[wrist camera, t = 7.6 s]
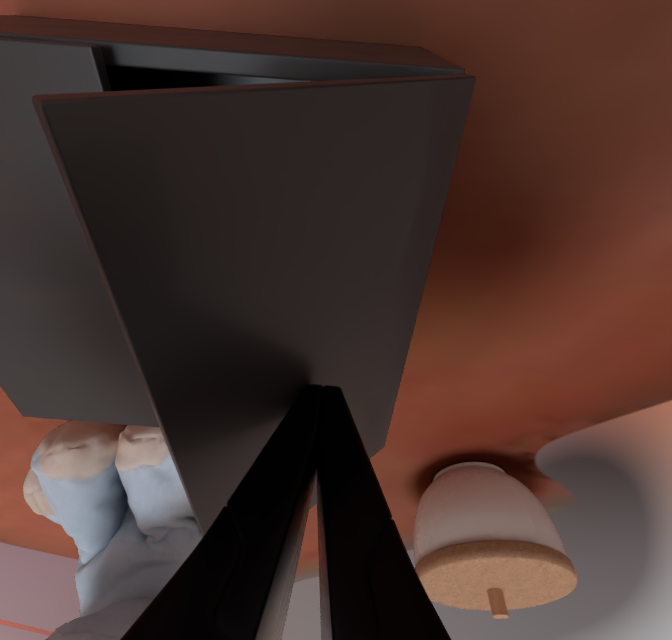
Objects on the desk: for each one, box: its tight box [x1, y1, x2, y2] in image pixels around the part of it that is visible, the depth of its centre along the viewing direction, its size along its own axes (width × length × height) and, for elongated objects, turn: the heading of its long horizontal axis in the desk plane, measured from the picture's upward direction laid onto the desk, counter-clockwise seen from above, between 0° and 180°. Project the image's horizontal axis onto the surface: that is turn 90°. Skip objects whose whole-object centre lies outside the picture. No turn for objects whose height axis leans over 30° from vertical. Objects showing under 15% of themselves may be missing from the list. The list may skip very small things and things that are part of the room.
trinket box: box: [413, 462, 578, 619], centre depth 28 cm, size 11×11×9 cm
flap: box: [32, 74, 476, 537], centre depth 9 cm, size 7×13×1 cm
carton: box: [0, 15, 465, 428], centre depth 15 cm, size 15×13×8 cm
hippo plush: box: [23, 420, 202, 640], centre depth 27 cm, size 18×23×18 cm
